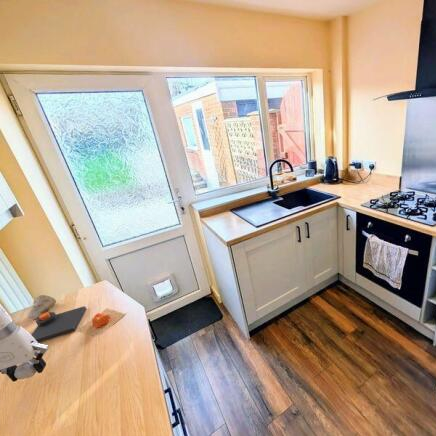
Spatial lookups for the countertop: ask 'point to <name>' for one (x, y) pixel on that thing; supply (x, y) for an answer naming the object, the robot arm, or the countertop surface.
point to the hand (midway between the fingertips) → (30, 372)
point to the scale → (58, 324)
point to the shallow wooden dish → (101, 322)
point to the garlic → (25, 370)
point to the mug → (41, 306)
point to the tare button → (44, 316)
